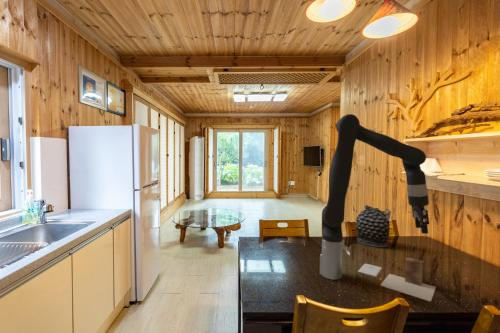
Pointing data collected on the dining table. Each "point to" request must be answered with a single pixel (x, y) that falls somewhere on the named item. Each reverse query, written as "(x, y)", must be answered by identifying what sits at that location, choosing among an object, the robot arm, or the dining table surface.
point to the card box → (413, 271)
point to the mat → (409, 287)
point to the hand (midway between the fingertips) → (421, 230)
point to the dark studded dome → (373, 227)
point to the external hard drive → (370, 270)
